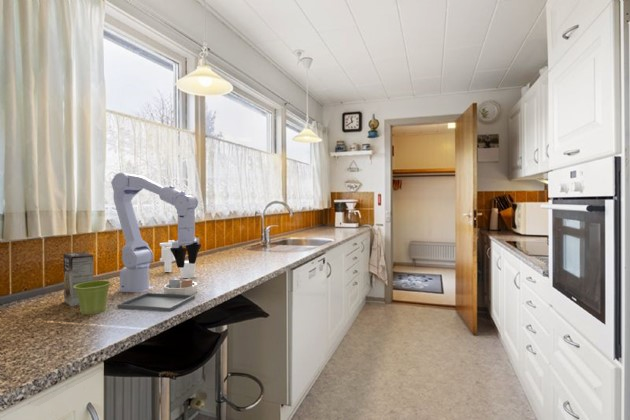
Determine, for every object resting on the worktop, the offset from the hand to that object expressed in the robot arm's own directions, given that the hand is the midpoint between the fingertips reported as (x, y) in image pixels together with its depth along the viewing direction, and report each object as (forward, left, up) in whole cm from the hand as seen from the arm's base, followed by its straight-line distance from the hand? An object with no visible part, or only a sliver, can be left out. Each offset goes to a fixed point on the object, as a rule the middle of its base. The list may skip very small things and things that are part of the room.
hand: (186, 265), depth 122 cm
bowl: (-2, 0, -10) cm, 11 cm away
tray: (-2, -13, -10) cm, 17 cm away
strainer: (-29, +33, -11) cm, 45 cm away
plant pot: (-16, -24, -11) cm, 31 cm away
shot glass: (-14, +25, -11) cm, 31 cm away
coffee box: (-29, -16, -11) cm, 35 cm away
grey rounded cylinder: (-5, 0, -10) cm, 11 cm away
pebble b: (0, 0, -10) cm, 10 cm away
